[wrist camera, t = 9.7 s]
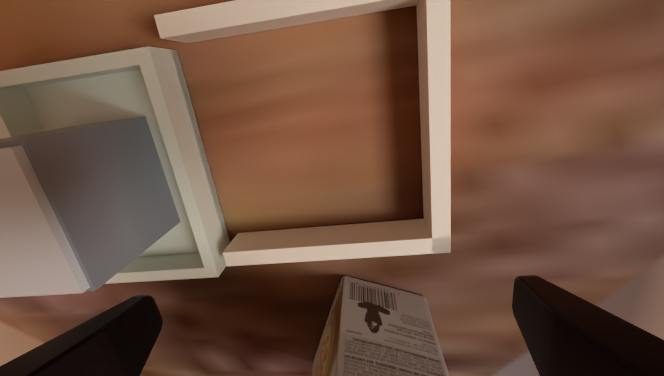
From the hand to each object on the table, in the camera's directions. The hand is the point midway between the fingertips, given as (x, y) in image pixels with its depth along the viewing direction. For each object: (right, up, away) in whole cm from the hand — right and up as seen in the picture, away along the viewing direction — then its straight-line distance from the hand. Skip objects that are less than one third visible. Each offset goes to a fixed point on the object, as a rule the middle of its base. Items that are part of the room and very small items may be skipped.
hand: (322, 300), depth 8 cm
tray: (-13, +4, +13) cm, 18 cm away
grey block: (-13, +4, +12) cm, 18 cm away
